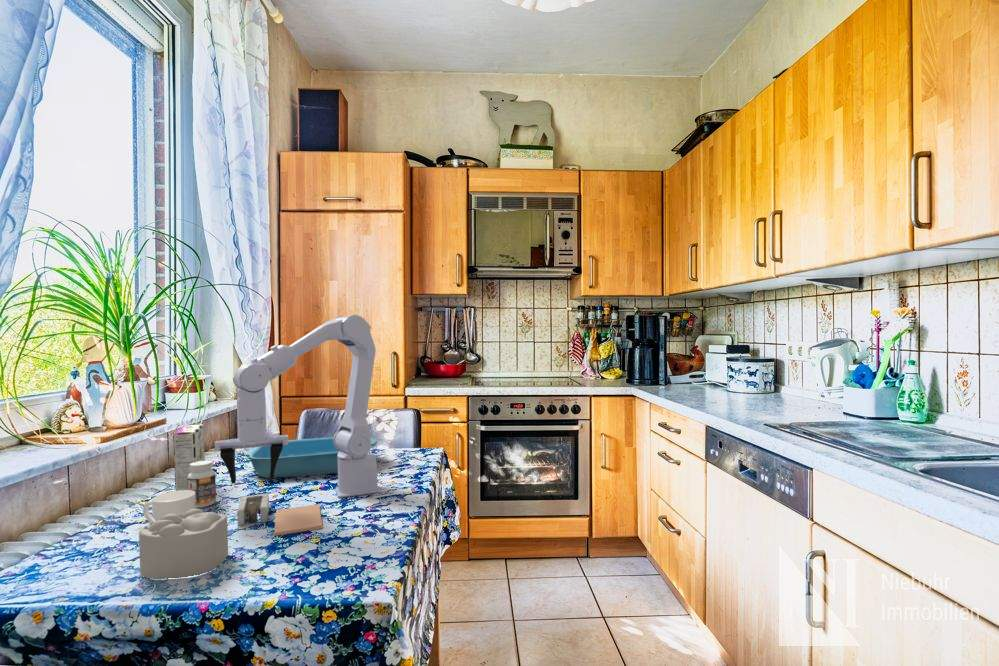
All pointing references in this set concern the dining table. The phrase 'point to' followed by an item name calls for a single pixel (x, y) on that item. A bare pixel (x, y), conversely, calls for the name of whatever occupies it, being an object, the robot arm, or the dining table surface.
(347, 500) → the dining table surface
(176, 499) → the cup
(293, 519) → the trivet
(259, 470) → the casserole dish
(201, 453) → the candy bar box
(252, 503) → the stand
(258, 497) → the link
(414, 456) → the dining table surface
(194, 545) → the lumpy-topped squat cylinder
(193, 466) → the pill bottle
